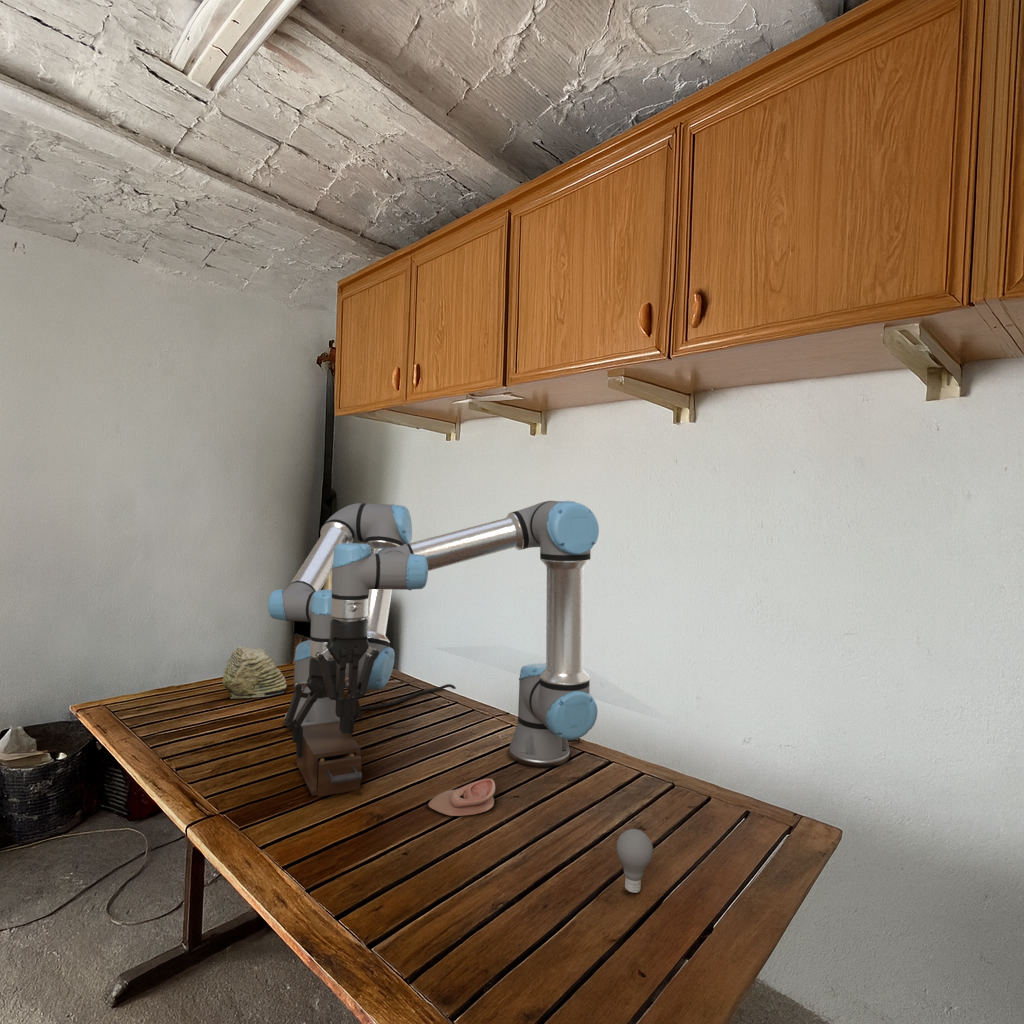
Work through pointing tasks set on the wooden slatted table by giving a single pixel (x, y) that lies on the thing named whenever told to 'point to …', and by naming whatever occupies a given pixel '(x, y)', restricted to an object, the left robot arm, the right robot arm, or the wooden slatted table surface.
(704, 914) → the wooden slatted table surface
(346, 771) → the drawer
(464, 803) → the anatomical model
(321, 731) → the cabinet
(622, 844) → the light bulb
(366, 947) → the wooden slatted table surface
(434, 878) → the wooden slatted table surface
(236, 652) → the fossil
